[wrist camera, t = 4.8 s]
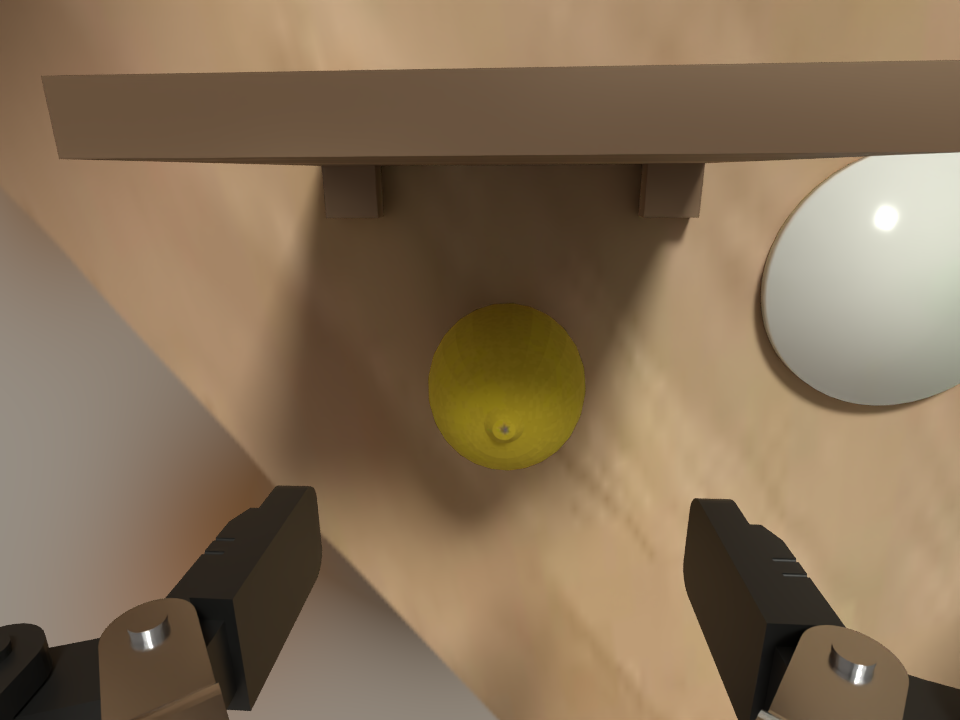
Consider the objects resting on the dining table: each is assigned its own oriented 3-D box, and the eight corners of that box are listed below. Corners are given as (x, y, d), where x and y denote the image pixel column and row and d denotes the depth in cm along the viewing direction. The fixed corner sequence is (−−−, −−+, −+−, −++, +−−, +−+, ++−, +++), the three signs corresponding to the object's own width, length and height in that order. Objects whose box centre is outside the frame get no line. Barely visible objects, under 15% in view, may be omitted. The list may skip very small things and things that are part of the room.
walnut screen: (322, 78, 22) (8, -71, 8) (706, 71, 21) (1045, -106, 7) (334, 216, 23) (85, 277, 10) (691, 215, 22) (949, 281, 9)
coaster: (781, 145, 21) (789, 144, 21) (1069, 143, 21) (1084, 142, 20) (744, 397, 24) (749, 403, 24) (993, 401, 24) (1005, 407, 23)
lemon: (582, 399, 25) (610, 500, 17) (457, 418, 26) (431, 523, 18) (564, 273, 23) (586, 323, 16) (430, 297, 24) (390, 356, 16)
